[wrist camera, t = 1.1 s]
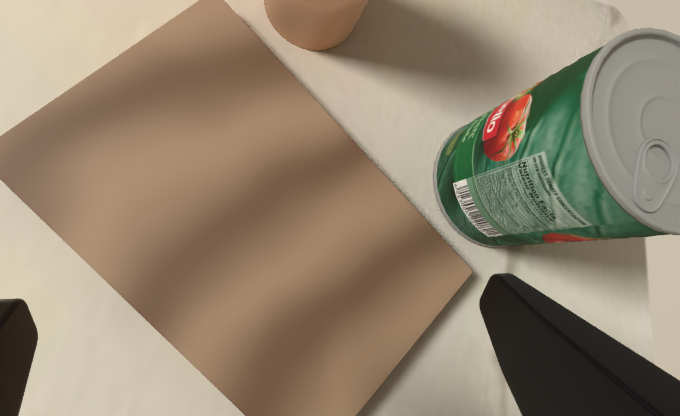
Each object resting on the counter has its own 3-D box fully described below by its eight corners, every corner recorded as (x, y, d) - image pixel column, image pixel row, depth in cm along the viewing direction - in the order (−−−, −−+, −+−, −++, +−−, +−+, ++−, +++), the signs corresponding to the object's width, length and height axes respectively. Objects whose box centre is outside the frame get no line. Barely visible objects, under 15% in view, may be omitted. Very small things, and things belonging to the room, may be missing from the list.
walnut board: (458, 270, 24) (473, 271, 23) (301, 460, 20) (307, 475, 19) (214, 7, 22) (214, -10, 21) (-7, 162, 19) (-26, 153, 17)
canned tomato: (463, 98, 26) (626, -15, 16) (558, 164, 27) (767, 100, 17) (410, 206, 24) (557, 159, 14) (516, 271, 25) (724, 274, 15)
